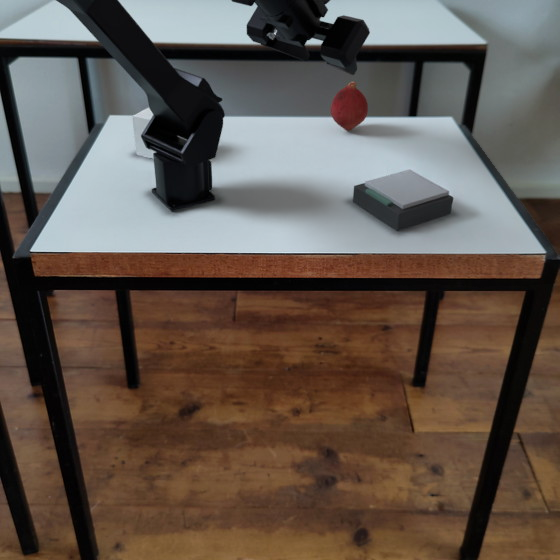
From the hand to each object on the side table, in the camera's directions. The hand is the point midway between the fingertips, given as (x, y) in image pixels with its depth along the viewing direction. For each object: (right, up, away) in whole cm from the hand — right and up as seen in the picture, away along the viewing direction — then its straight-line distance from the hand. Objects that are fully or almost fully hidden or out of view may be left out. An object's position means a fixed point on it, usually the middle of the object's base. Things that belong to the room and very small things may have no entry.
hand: (330, 65), depth 102 cm
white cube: (-25, -13, +2) cm, 28 cm away
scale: (+8, -22, -12) cm, 27 cm away
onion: (+4, -8, +10) cm, 13 cm away
